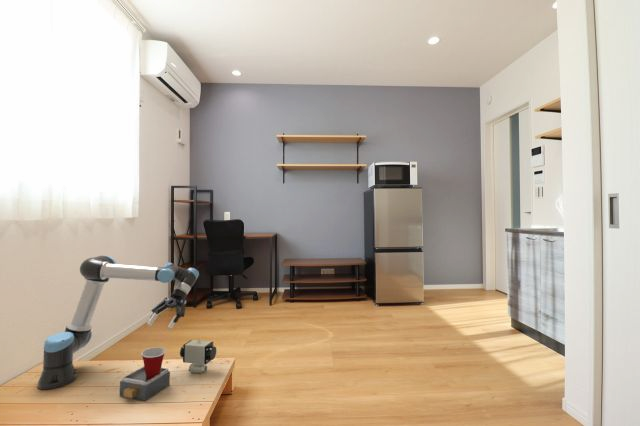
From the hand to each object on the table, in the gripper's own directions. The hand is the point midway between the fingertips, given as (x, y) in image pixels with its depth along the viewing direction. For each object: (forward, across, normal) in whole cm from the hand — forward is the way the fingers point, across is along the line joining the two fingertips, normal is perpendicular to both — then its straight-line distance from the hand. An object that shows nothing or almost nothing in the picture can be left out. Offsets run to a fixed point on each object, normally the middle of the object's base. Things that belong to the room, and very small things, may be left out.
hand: (159, 326), depth 164 cm
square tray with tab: (+28, -4, -11) cm, 30 cm away
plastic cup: (+21, -7, -8) cm, 24 cm away
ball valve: (+10, -16, -29) cm, 34 cm away
